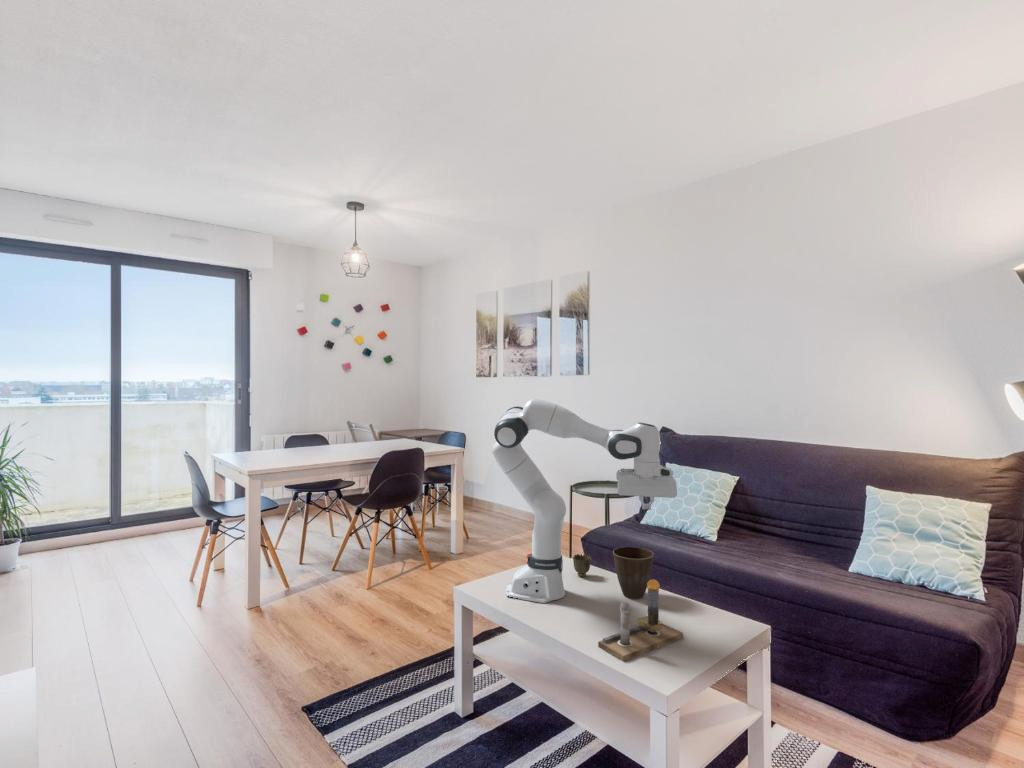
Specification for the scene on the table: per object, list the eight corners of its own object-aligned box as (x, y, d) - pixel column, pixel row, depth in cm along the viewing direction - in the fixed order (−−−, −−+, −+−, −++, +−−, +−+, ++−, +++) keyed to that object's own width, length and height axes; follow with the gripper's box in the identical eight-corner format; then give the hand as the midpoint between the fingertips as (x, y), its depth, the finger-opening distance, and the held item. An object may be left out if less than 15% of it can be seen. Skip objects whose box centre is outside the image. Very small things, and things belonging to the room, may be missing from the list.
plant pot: (645, 607, 181) (645, 561, 181) (606, 597, 189) (606, 553, 190) (659, 593, 193) (659, 551, 194) (621, 585, 202) (621, 544, 202)
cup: (587, 580, 207) (587, 560, 207) (570, 577, 210) (570, 557, 210) (593, 574, 213) (593, 555, 213) (576, 571, 217) (576, 552, 217)
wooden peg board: (657, 625, 166) (657, 583, 166) (682, 637, 158) (682, 593, 158) (598, 646, 152) (598, 601, 152) (623, 661, 143) (623, 613, 144)
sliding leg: (646, 624, 163) (646, 574, 163) (662, 631, 157) (662, 580, 158) (637, 627, 160) (637, 576, 161) (653, 635, 155) (653, 583, 155)
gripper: (616, 469, 178) (616, 509, 177) (677, 471, 174) (677, 512, 174) (616, 467, 184) (616, 505, 184) (675, 469, 180) (675, 508, 180)
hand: (646, 509), depth 179 cm, fingers closed
